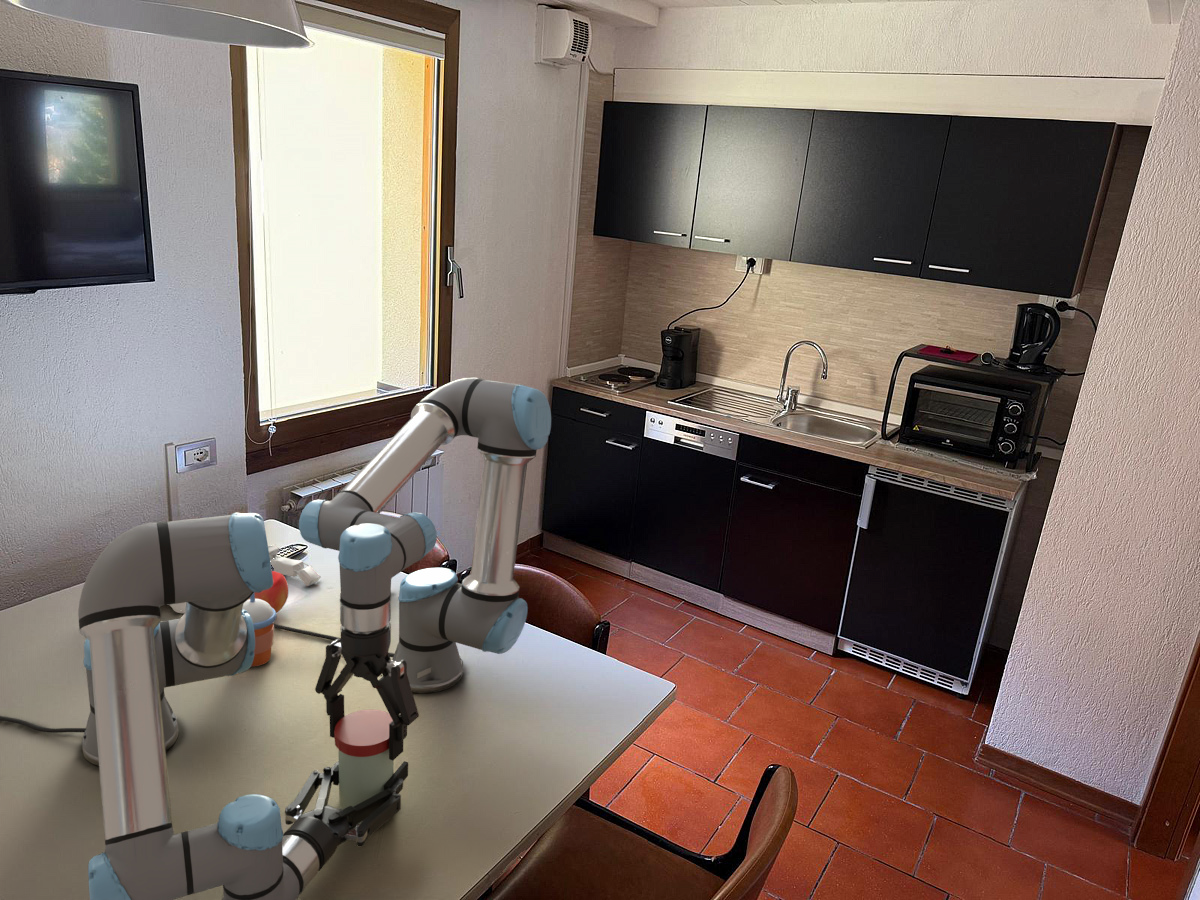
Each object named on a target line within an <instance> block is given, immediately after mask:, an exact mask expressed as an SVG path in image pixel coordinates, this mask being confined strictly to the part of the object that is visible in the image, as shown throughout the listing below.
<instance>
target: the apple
mask: <svg viewBox="0 0 1200 900" xmlns="http://www.w3.org/2000/svg"><path fill="white" fill-rule="evenodd" d="M272 576H273V586H272V587H271V588H270V589H267V590H263V591H262V592H259V593H257V592H256V593H255V599H261V600H264V601H266V602H267V603H268V604H269V605H270V606H271V607H272V608H273V609H274V610H275V611H276V614H278V613H279V612H280V611H281V610H282V609H283V607H284V606H285V605H286V603H287V600H288V597H289V584H288V581H287V579H286V577H285V575H282V574H281V573H278V572H275V571H272ZM249 599H250V598H249ZM249 599H248V600H249Z"/></svg>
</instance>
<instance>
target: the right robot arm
mask: <svg viewBox="0 0 1200 900" xmlns="http://www.w3.org/2000/svg"><path fill="white" fill-rule="evenodd" d="M551 428H552V410H551V406H550V403H549V401H548V398H547V396H546V395H545V393H544V392H543V391H541V390H540V389H537V388H534V387H531V386H527V385H525V384H517V383H511V382H503V381H496V380H489V379H483V378H480V377H463V378H460V379H459V378H458V379H456V380H453V381H450V382H448V383H446V384H444V385H441V386H439V387H438V388H436V389H435V390H433V391H432V392H430V393H429V394H427V395H426V396H424V398H422V399H421V400H420V401H419V402H418V403H417V404H416V405H415V406H414V407H413V408H412V410H411V414H410V419H409V420H408V421H407V422H406V423H405V424H404V425H403V426H402V427H401V428H400V429H399V430H398V431H397V432H396V433H395V434H394V436H392V437H391V438H390V440H389V441H387V442H386V444H384V446H382V447H381V448H380V450H379V451H378V452H377V453H376V454H375V455H374V456H373V457H372V458H371V459H370V460H369V461H368V462H367V463H366V464H365V465H364V466H363V468H361V469H360V470H359V472H357V473H356V475H355V476H354V477H353V478H352V479H351V480H349V482H347V484H346V485H345V486H344V487H343V488H342V489H341V490H340V491H339V492H338V493H337V494H336V495H335V496H334V497H333V498H332V499H331V500H328V499H314V500H311V501H309V502H308V503H307V504H306V505H305V507H304V508H303V509H302V512H301V514H300V516H299V521H298V530H299V533H300V536H301V537H302V539H303V540H304V541H305V542H307V543H309V544H312V545H315V546H317V547H321V548H323V549H329V550H333V551H338V556H337V559H338V563H339V585H340V594H339V623H340V629H339V630H340V637H338V636H333V635H328V634H323V633H318V632H315V631H309V630H305V629H299V628H294V627H290V626H286V625H282V624H278V623H277V624H276V623H273V625H274V629H278V630H281V631H286V632H290V633H295V634H300V635H305V636H311V637H315V638H319V639H323V640H324V639H325V640H329V641H332V642H330V643H329V644H327V645H326V646H325V659H324V661H323V665H322V667H321V670H320V673H319V676H318V679H317V682H316V685H315V687H314V691H315V692H316V693H317V694H318V695H320V694H321V695H323V698H324V699H325V706H326V707H325V709H326V715H327V716H328V717H329V737H330V738H333V739H334V731H335V726H336V724H337V723H338V721H339V720H340V719H341V718H343V717H344V716H345V695H344V694H343V693H341V692H342V691H343V688H344V687H345V686H346V685H347V683H348V682H349V681H350V679H351V678H352V677H353V676H354V677H357V678H362V679H363V680H365V681H367V682H370V685H371V686H372V688H373V689H376V691H377V692H378V695H379V696H380V698H381V700H382V703H383V704H384V706H385V709H386V711H387V713H389V714H390V716H391V718H392V720H393V721H392V722H391V723H390V724H389V759H390V760H392V761H393V760H396V759H397V758H398V757H399V756H400V755H401V754H402V753H403V752H404V740H405V739H406V738H407V736H408V726H410V725H411V724H412V723H413V722H415V721H416V719H418V718H419V716H420V715H419V710H418V706H417V703H416V701H415V697H414V694H413V693H416V694H430V693H431V694H432V693H438V692H441V691H445V690H447V689H450V688H451V687H453V686H455V685H456V684H457V683H458V682H459V681H460V680H461V679H462V676H463V672H464V662H463V660H462V657H461V656H460V653H459V649H458V646H457V644H459V645H463V646H466V647H470V648H473V649H477V650H480V651H482V652H485V653H486V652H487V653H489V652H490V653H493V654H499V655H501V654H505V653H507V652H509V651H510V650H511V649H512V648H513V647H514V645H515V644H516V643H517V641H518V640H519V637H520V636H521V634H522V631H523V629H524V628H525V624H526V621H527V617H528V611H529V610H528V609H529V607H528V603H527V601H526V600H525V599H523V598H522V597H521V598H520V595H519V594H520V585H519V583H518V582H517V581H516V580H515V579H514V575H515V567H516V560H517V559H516V558H517V550H518V543H519V533H520V526H521V518H522V509H523V502H524V493H525V485H526V477H527V471H528V470H527V468H528V464H529V463H530V462H531V461H532V460H534V459H535V458H536V456H537V451H538V450H541V449H543V448H545V446H546V444H547V443H548V440H549V436H550V434H551ZM461 436H468V437H472V438H476V439H477V448H476V449H477V451H478V453H480V455H481V456H482V458H483V462H482V463H483V464H482V473H481V481H480V489H479V498H478V506H477V516H476V522H475V523H476V524H475V533H474V543H473V549H472V560H471V569H470V574H468V575H467V576H466V577H464V579H462V581H461V583H460V582H458V580H459V579H458V575H457V573H456V572H455V571H454V570H453V569H450V568H446V567H428V568H421V569H418V570H416V571H413V572H410V573H409V574H407V575H406V576H405V577H403V579H402V580H401V581H400V585H399V590H398V591H399V593H398V598H397V600H398V643H397V645H396V648H395V651H394V652H389V650H390V647H391V641H392V638H391V637H392V635H391V633H392V624H391V618H392V615H391V613H392V610H391V607H392V606H391V605H392V604H391V603H392V578H394V577H395V576H397V575H398V574H400V573H401V572H403V571H405V570H406V569H407V568H409V567H411V566H412V565H414V564H415V563H417V562H418V561H419V562H420V561H421V560H423V558H424V557H425V556H426V555H428V554H429V553H430V552H431V551H432V550H433V549H434V547H435V546H436V544H437V539H438V536H437V534H438V533H437V529H436V525H435V523H433V521H432V520H431V519H430V517H428V516H427V515H425V514H424V513H422V512H417V511H411V512H408V513H404V514H402V515H400V516H399V517H397V516H392V515H387V514H383V513H382V512H383V511H384V509H385V508H386V507H387V506H388V505H389V504H390V503H391V501H392V500H393V499H395V497H396V496H397V495H398V494H399V493H400V492H401V490H402V489H403V488H404V487H405V486H406V485H407V484H408V483H409V481H410V480H411V479H412V478H413V477H414V476H415V474H417V472H418V471H419V470H420V469H421V468H422V467H423V466H424V465H425V463H427V461H428V460H429V459H430V458H431V457H432V456H433V454H434V453H435V452H436V451H437V450H438V448H440V447H441V446H445V445H448V444H450V443H451V442H452V441H453V440H454V439H455V438H456V437H461ZM341 658H343V661H344V662H345V665H344V667H342V669H341V671H340V672H339V675H338V676H337V677H336V679H334V677H335V675H336V672H337V670H338V666H339V663H340V661H341ZM380 676H381V677H380ZM379 677H380V678H379ZM378 678H379V679H378ZM339 693H340V694H339Z"/></svg>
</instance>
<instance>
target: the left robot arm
mask: <svg viewBox="0 0 1200 900" xmlns="http://www.w3.org/2000/svg"><path fill="white" fill-rule="evenodd" d="M268 546H269V544H268V537H267V532H266V526H265V520H264V518H263V517H262V515H261V514H259V513H256V512H246V513H243V512H242V513H241V512H233V513H232V514H228V515H227V514H226V515H218V516H208V517H199V518H198V517H197V518H189V519H179V520H171V521H160V522H147V523H142V524H140V525H136V526H134V527H131V528H130V529H128V530H126V531H124V532H122V533H121V534H119V535H118V536H117V537H115V538H114V539H113V540H112V541H111V542H109V544H108V545H107V546H106V547H105V548H104V549H102V550H103V551H102V552H101V553H100V554H99V556H98V557H97V558H96V560H95V561H94V562H93V564H92V566H91V568H90V570H89V572H88V574H87V576H86V579H85V581H84V584H83V586H82V589H81V593H80V598H79V601H78V611H77V612H78V613H77V614H78V615H77V616H78V626H79V627H78V630H79V634H80V636H82V637H83V638H85V640H84V645H83V652H84V653H83V654H84V658H83V667H84V668H85V671H86V681H87V683H86V684H87V692H88V701H89V715H88V719H87V721H86V726H85V727H61V728H54V727H53V728H50V727H44V726H41V725H37V724H35V723H32V722H29V721H26V720H23V719H20V718H14V717H10V716H9V717H8V716H3V715H0V721H1V722H7V723H12V724H18V725H21V726H24V727H25V728H29V729H31V730H35V731H39V732H42V733H48V734H59V733H63V734H64V733H83V735H82V738H81V739H82V740H81V747H82V755H83V756H84V759H85V760H86V761H88V763H90V764H92V765H94V766H98V769H99V783H100V795H101V796H100V797H101V807H102V819H103V822H102V823H103V832H104V833H103V834H104V846H105V847H104V851H103V852H101V853H100V854H96V855H94V856H93V857H91V859H90V860H89V861H88V866H87V867H88V868H87V875H88V894H89V900H176V899H180V898H183V897H186V896H190V895H195V894H198V893H201V892H205V891H208V890H211V889H214V888H218V887H221V886H222V893H223V896H222V899H221V900H297V899H298V898H299V896H300V895H301V894H302V893H303V891H304V890H305V889H306V888H307V886H309V884H310V883H311V881H312V880H313V879H314V878H315V877H316V876H317V874H318V873H319V872H320V871H321V870H322V869H323V868H324V866H325V865H326V864H327V863H328V862H329V860H330V859H331V858H332V857H333V856H334V854H335V853H336V851H337V849H338V847H339V846H340V845H342V844H343V843H345V842H347V841H354V842H356V846H357V847H360V848H361V847H363V846H365V844H366V842H367V841H368V839H369V838H370V836H372V835H373V834H374V833H376V831H377V830H379V829H380V828H381V827H382V826H383V825H384V824H386V822H388V821H390V819H392V818H393V817H394V816H395V815H396V814H397V813H398V812H399V811H401V808H402V796H401V794H400V793H401V792H402V790H403V789H404V781H406V779H407V778H408V777H409V761H405V760H404V761H403V762H401V764H400V766H398V768H397V769H396V770H395V771H394V773H393V775H392V776H391V777H390V779H389V780H388V781H387V782H386V783H385V785H384V791H382V792H380V793H378V794H376V795H374V796H372V797H371V798H369V799H367V800H365V801H363V802H361V803H359V804H357V805H356V806H354V807H352V806H349V807H347V808H345V809H339V808H335V807H334V806H332V805H329V799H330V795H331V791H332V785H334V786H339V760H338V761H336V762H335V763H334V764H333V765H332V766H326V767H324V768H323V772H320V770H318V769H316V770H313V771H312V772H311V773H310V775H309V776H308V778H307V779H306V781H305V783H304V784H303V786H302V787H301V789H300V791H299V792H298V794H297V795H296V797H295V798H294V800H293V801H292V802H290V804H289V805H287V806H286V807H285V808H284V818H285V824H286V825H289V827H288V828H287V830H286V831H285V832H284V830H283V825H282V817H281V809H280V806H279V804H278V803H277V802H276V800H275V799H273V798H271V797H270V796H267V795H265V794H259V793H252V794H250V793H249V794H245V795H241V796H238V797H236V799H235V800H234V801H232V802H228V803H227V804H225V805H224V807H223V808H222V809H221V811H220V813H219V816H218V821H217V822H216V823H215V822H214V823H211V824H208V825H204V826H200V827H197V828H193V829H189V830H185V831H181V832H179V833H174V827H173V816H172V815H173V814H172V804H171V794H170V784H169V774H168V766H167V765H168V764H167V763H168V762H167V751H168V750H169V749H170V748H171V747H173V745H174V744H175V743H176V741H177V739H178V738H179V734H180V729H179V721H178V718H177V715H176V714H175V712H174V710H173V708H172V707H171V704H170V703H169V701H168V699H167V697H166V696H165V688H170V687H175V686H179V685H184V684H191V683H196V682H201V681H206V680H211V679H216V678H221V677H222V678H223V677H233V676H236V675H237V674H241V673H244V672H246V671H248V670H249V669H250V668H251V667H252V666H251V665H252V663H253V660H254V650H255V633H254V627H253V622H252V619H251V616H250V614H248V612H247V611H246V610H244V609H243V603H245V602H246V601H247V600H248V599H249V598H250V597H251V596H252V594H253V593H254V592H255V593H256V592H257V593H259V592H262V591H263V590H267V589H270V588H271V587H272V586H273V576H272V569H271V562H270V556H269V550H268ZM184 602H186V613H185V614H184V613H183V615H182V616H181V617H180V618H175V619H169V620H164V621H163V620H162V613H161V606H170V604H178V603H184ZM318 789H319V792H318V797H317V799H316V803H315V807H314V808H313V809H312V810H309V811H306V809H307V807H308V806H309V804H310V802H311V801H312V799H313V797H314V796H315V794H316V792H317V791H318ZM305 811H306V812H305ZM361 821H362V822H361ZM360 822H361V824H358V823H360Z"/></svg>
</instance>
